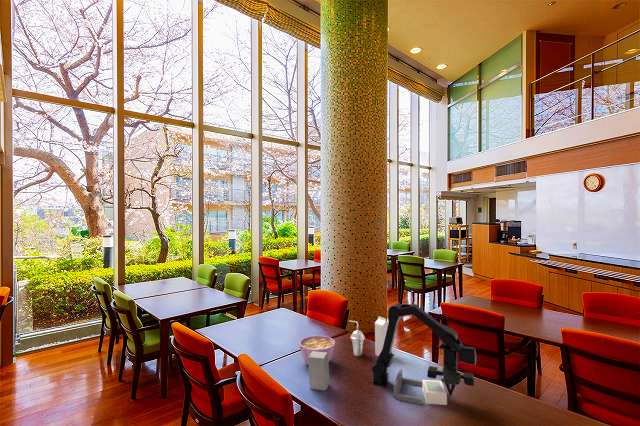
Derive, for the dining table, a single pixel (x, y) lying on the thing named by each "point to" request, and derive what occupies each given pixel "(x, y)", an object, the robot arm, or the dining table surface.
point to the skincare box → (318, 370)
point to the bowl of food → (316, 346)
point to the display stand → (401, 380)
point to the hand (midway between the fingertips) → (450, 394)
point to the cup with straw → (357, 341)
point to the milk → (380, 334)
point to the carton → (434, 392)
